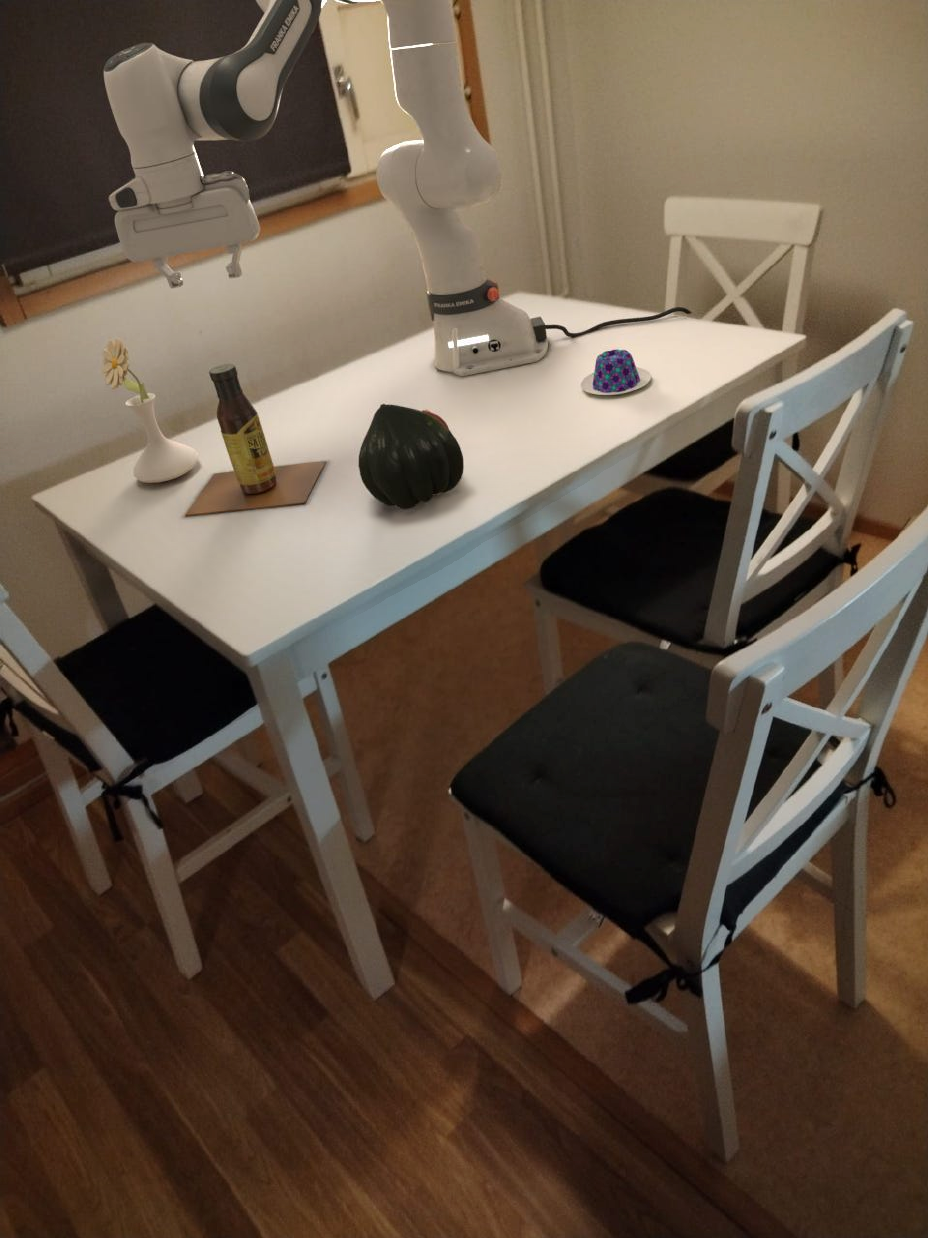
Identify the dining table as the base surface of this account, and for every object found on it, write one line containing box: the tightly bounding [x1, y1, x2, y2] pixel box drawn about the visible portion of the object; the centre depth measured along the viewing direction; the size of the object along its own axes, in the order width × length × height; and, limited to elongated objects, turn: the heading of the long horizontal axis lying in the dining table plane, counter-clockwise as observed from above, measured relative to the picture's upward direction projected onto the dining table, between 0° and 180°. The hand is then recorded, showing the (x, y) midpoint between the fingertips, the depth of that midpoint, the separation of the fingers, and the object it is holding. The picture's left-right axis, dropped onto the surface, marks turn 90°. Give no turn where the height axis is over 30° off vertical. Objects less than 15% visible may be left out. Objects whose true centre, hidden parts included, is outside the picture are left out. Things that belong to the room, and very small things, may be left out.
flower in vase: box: [101, 336, 199, 484], centre depth 154 cm, size 13×11×25 cm
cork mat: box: [184, 460, 327, 517], centre depth 151 cm, size 20×14×1 cm
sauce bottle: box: [208, 363, 276, 494], centre depth 145 cm, size 7×6×20 cm
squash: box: [358, 403, 465, 510], centre depth 136 cm, size 14×15×15 cm
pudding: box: [580, 348, 652, 396], centre depth 158 cm, size 12×12×5 cm
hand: (206, 281), depth 137 cm, fingers open, 8 cm apart
